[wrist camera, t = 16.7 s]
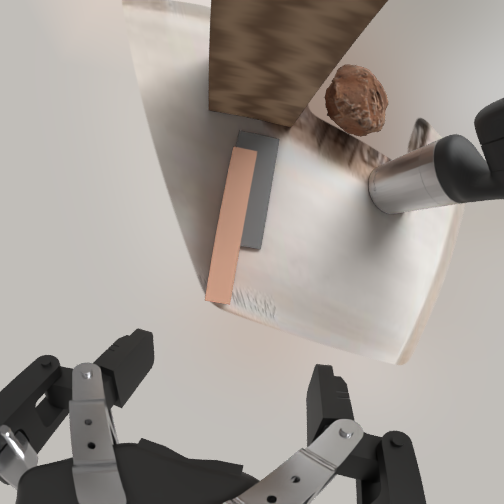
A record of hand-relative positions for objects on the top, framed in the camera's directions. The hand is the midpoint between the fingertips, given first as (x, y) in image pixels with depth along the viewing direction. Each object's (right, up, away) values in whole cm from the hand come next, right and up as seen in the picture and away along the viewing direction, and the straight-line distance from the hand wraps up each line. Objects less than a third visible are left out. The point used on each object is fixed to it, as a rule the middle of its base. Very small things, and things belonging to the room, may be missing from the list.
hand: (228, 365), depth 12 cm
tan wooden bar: (-2, +9, +29) cm, 31 cm away
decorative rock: (+19, +31, +32) cm, 49 cm away
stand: (+2, +34, +30) cm, 45 cm away
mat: (+1, +15, +30) cm, 34 cm away
